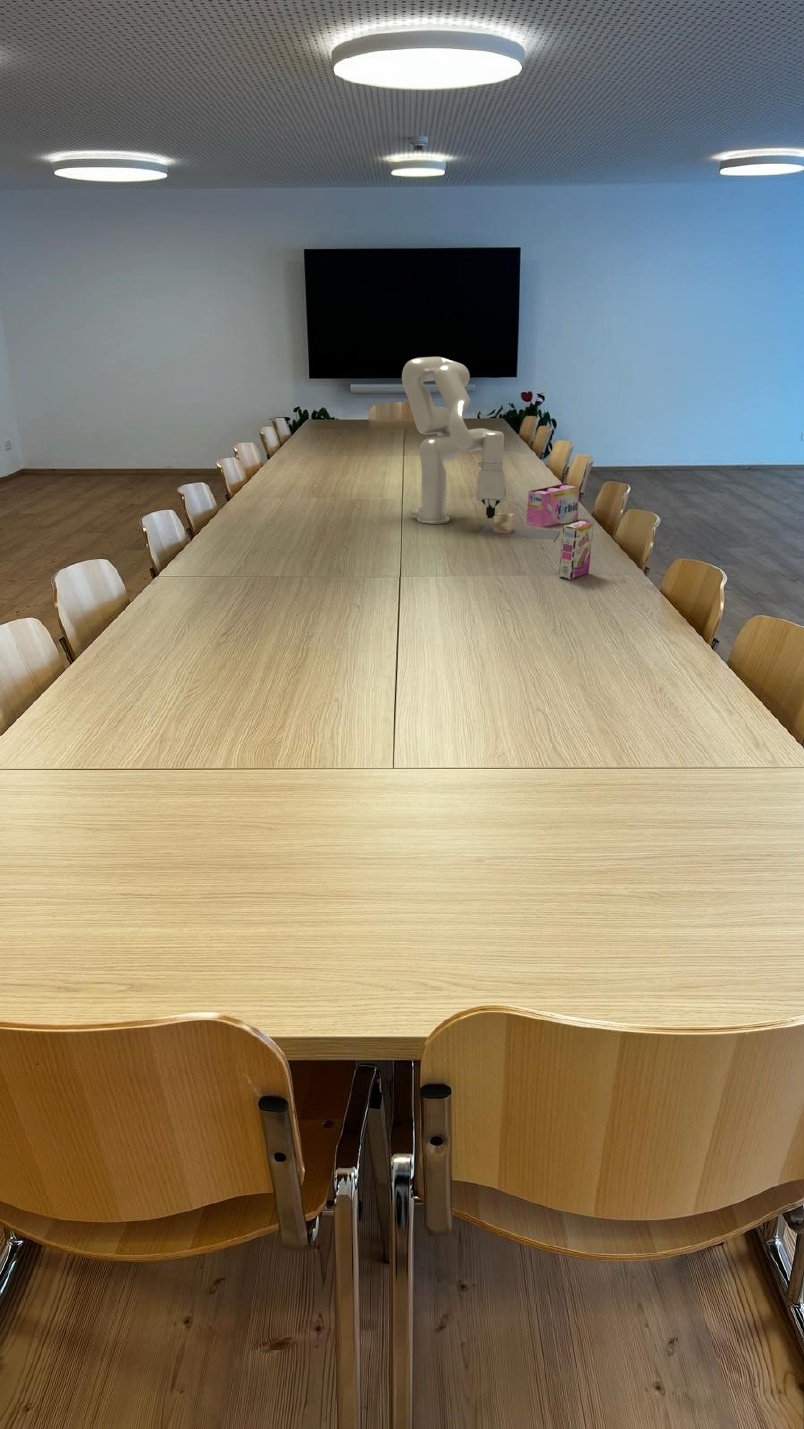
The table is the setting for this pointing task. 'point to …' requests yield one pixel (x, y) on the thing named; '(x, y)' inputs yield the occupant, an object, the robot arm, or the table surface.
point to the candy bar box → (576, 550)
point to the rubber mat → (523, 533)
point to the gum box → (553, 505)
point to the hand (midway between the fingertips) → (490, 517)
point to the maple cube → (503, 523)
